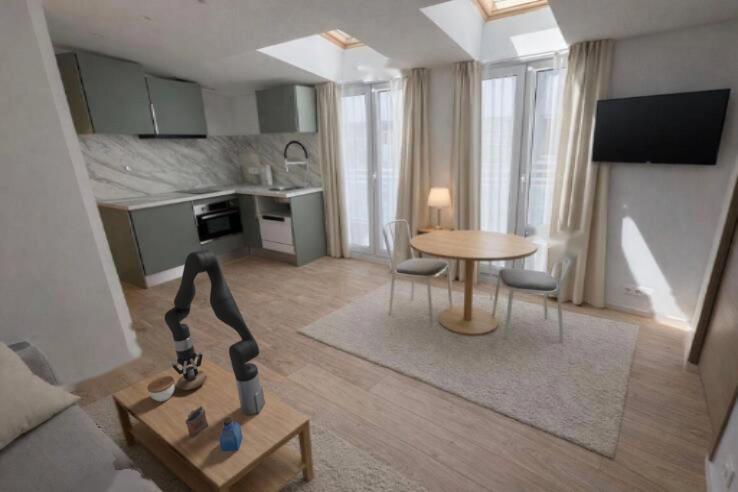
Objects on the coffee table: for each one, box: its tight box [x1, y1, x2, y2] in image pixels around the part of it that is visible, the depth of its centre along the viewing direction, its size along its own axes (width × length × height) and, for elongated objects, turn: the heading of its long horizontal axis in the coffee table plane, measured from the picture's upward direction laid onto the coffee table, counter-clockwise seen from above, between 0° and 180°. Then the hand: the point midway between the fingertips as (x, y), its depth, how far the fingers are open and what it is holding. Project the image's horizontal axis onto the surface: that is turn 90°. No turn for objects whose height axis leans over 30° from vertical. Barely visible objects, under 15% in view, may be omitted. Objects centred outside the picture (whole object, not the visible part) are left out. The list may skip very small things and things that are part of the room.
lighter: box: [185, 405, 209, 439], centre depth 146 cm, size 8×3×10 cm, turn 148°
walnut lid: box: [176, 365, 208, 391], centre depth 174 cm, size 13×13×7 cm
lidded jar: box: [146, 375, 176, 402], centre depth 166 cm, size 11×11×9 cm
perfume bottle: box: [218, 416, 243, 453], centre depth 139 cm, size 6×6×12 cm
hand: (191, 376), depth 174 cm, fingers closed on walnut lid, 3 cm apart
